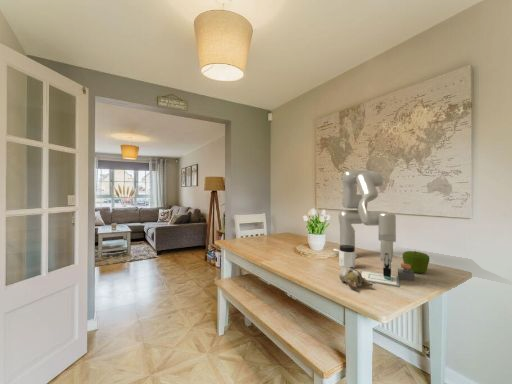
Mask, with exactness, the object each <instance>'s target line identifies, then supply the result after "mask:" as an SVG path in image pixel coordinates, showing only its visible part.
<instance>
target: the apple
mask: <svg viewBox="0 0 512 384" xmlns="http://www.w3.org/2000/svg"><path fill="white" fill-rule="evenodd" d="M402 260H403V262H402V263H404V264H410V265H411V269H408V270H411V271H414V274H422V273H425V272H427V271H428V267H429V263H430V256H429V255H428V254H427V253H425V252H421V251H416V250H414V251H413V250H407V251H404V252H403V253H402Z"/></svg>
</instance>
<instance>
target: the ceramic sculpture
mask: <svg viewBox="0 0 512 384" xmlns="http://www.w3.org/2000/svg"><path fill="white" fill-rule="evenodd" d="M338 276H339V280H340V281H341V282H342V283H347V285H348V287H350V288H351V289H357V288H358V287H359V286H360V285H362V286H365V287H370V286H371V287H372V286H374V284H373V283H371V282H368V281H367V280H366V279H365V278H363V277H362V275H361V273H360V271H358V270H357V269H355V268H353V267H349V268H347V267H344V266H341V267H340V271H339V274H338Z"/></svg>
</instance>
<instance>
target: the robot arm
mask: <svg viewBox="0 0 512 384" xmlns="http://www.w3.org/2000/svg"><path fill="white" fill-rule="evenodd" d="M356 184H357V185H356ZM383 184H384V178H383V175H382V174H381V173H380V172H377V171H374V170H373V171H372V170H367V169H365V170H359V169H355V170H353V169H352V170H345V171H344V173H343V174H342V186H343V189H342V191H343V192H342V202H341V203H342V207H343V208H345V209H342V210H341V211H339V212H338V222H339V246H340V245H351V246H354V247H355V248H356V230H355V228H354V227H353V225H359V224H363V225H365V226H369V227H370V226H372V227H373V226H374V227H375V226H377V227H378V241H380V262H383V269H382V270H383V271H382V274H383V276H387V277H391V275H392V267H391V268H390V263H391V264H392V261H393V256H394V255H393V254H394V243H396V241H397V232H396V231H397V230H396V229H397V223H396V222H397V216H396V214H395V213H394V212H388V211H383V210H380V211H379V210H378V211H377V210H368V203H370V202H371V201H374V200H375V199H377V197H379V192H378V190H377V187H378V188H379V187H381V186H382V185H383ZM358 189H359V193H360V194H358V193H357V192H358ZM339 250H340V248H333V252H334V251H335V253H337V256H338V257H339ZM357 258H358V254H356V253H355V259H357ZM383 260H384V261H383ZM388 261H389V262H388ZM388 263H389V264H388Z"/></svg>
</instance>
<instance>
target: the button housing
mask: <svg viewBox="0 0 512 384" xmlns="http://www.w3.org/2000/svg"><path fill="white" fill-rule="evenodd" d="M397 276H398V277H399V280H408V281H413V282H414V281H415V273H414V271H411V270H408V273H407V272H404V268H397Z"/></svg>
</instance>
